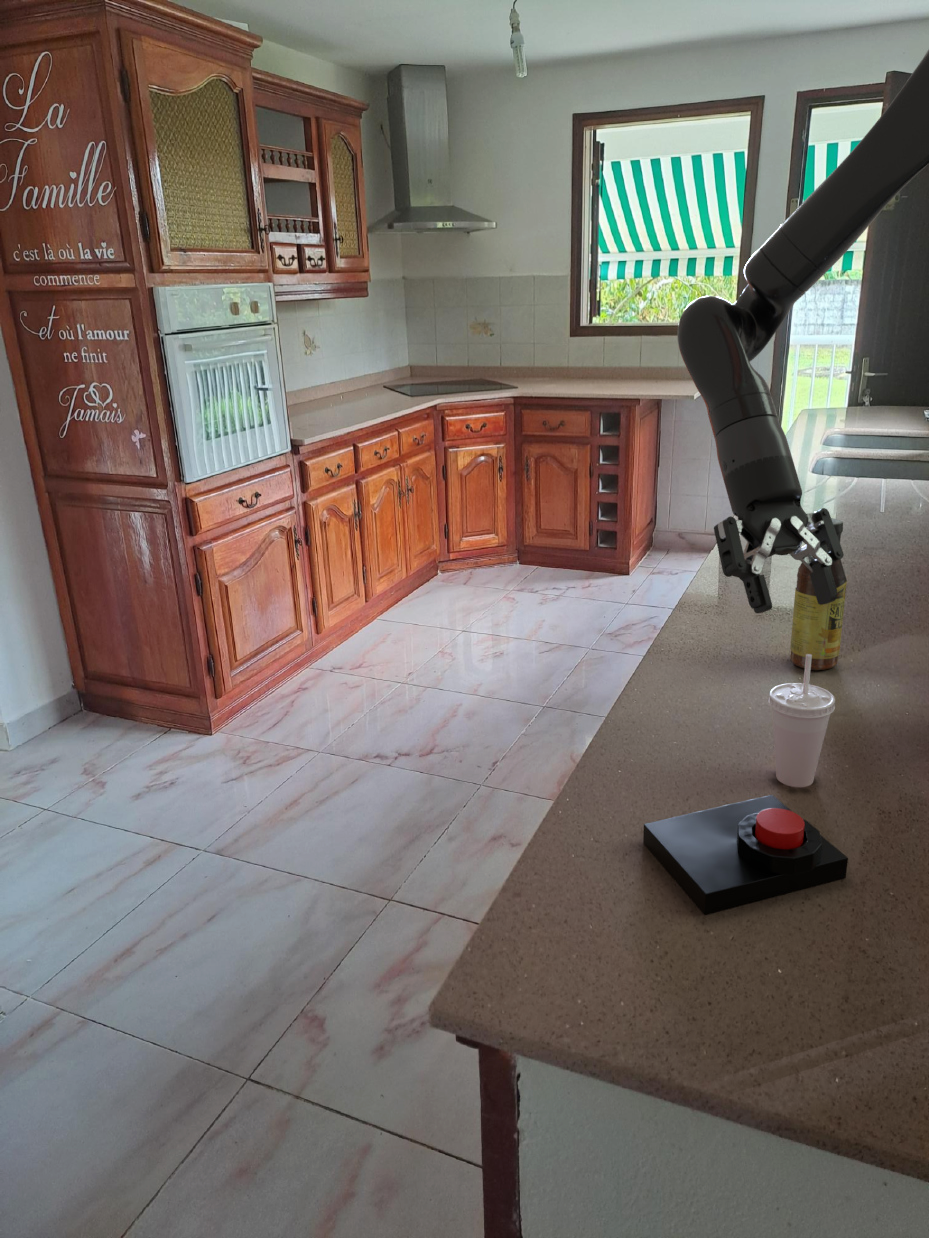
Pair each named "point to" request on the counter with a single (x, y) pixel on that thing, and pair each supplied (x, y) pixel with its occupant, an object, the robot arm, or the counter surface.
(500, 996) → the counter surface
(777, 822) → the timer button
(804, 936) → the counter surface
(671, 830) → the push button box
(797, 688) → the smoothie
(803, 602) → the sauce bottle
